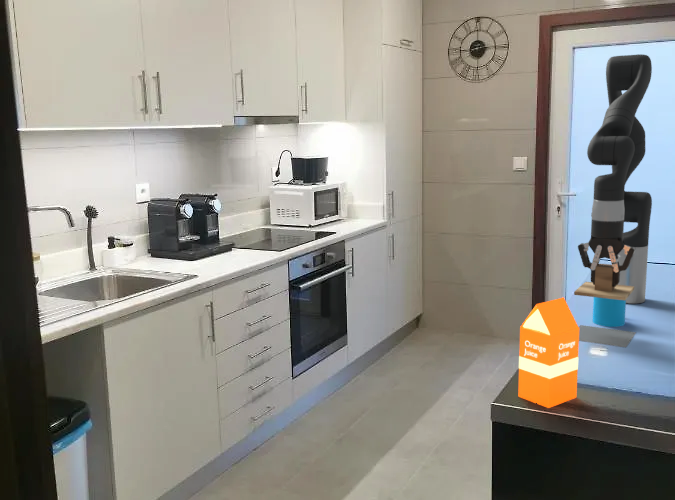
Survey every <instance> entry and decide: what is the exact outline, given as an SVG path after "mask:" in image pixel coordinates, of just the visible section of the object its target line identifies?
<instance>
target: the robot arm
mask: <svg viewBox="0 0 675 500" xmlns="http://www.w3.org/2000/svg"><path fill="white" fill-rule="evenodd" d="M651 60H652V59H651V57H650V56H649V55H647V54H628V55H615V56H614V55H613V56H610V57H609V58H608V59H607V63H606V65H605V66H606V68H605V80H606V82H605V83H606V90H607V99H608V108H607V109H606V111H605V114H604V117H603V121H602V125H601V126H600V128H599V129H598V130H597V131H596V133H595V134H594V135H593V137H592V138H591V139H590V141H589V144H588V146H587V149H586V150H587V152H586V154H587V155H586V156H587V158H588V161H589V162H590V163H591V164H592V165H596V166H611V171H612V172H611V173H608V174H603V175H598V176H596V177H595V178H594V181H593V182H594V183H593V200H592V207H591V222H590V223H591V224H590V226H591V227H590V239H589V241H588V242H581V243H579V244H578V246H577V249H578V252H579V256H580V259H581V262H582V265H583V267H584V268H588V269H589V270H590V282H593V285H595V268H596V266H597V265H598V264H600V261H601V259H608V260H610V263H611V265H612V266H613V270H614V272H613V282H612V287H616V285H625V286H634V290H633V291H632V293H631V294H630V295H629V296H628V298H627V299H626V304H642V303H644V302H646V291H647V289H646V288H647V286H646V285H647V275H648V274H647V271H648V255H649V238H650V223H651V214H652V209H653V208H652V206H653V201H652V200H653V199H652V195H651V194H650V193H649V191H648V192H647V191H626V190H625V187H626V184H627V181H628V180H629V178H630V177H631V175H632V174H633V173H634V171H635V170H636V169H637V168H638V166H639V165H640V164H641V162H642V161H643V159H644V157H645V155H646V131H645V128H644V127H643V124H641V122H640V121H639V119H638V118H637V117H636V113H637V111H638V109H639V106H640V105H641V102H642V101H643V99H644V97H645V94H646V93H647V91H648V89H649V85H650V83H651V79H652V73H653V71H652V69H653V67H652V61H651ZM622 91H625V92H624V93H623V92H622ZM625 223H635V224H636V223H637V226H636V227H634V228H633V229H631V230H629V231H625V232H624V230H625V229H624V227H625ZM589 248H590V249H591V250H592V252H593V253H594V255H593V258H592V262H591V261H590V257H589V255H588V254H589V253H588V251H589Z"/></svg>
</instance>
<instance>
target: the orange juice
mask: <svg viewBox="0 0 675 500" xmlns="http://www.w3.org/2000/svg"><path fill="white" fill-rule="evenodd" d="M579 344H580V341H579V325H578V323H577V321H576V319H575V317H574V315H573V314H572V311H571V309H570V307H569V305H568V303H567V301H566V299H565V297H563V296H562V297H560V298H557V299H551V300H549V301H544V302H543V301H542V302H539V303H536V304H535V306H534V307H533V309H532V310H531V311H530V313H529V314H528V316H527V317H526V318H525V320H524V321H523V322H522V324H521V325H520V327H519V352H518V353H519V355H518V391H517V392H518V395H517V396H518V397H519V398H521V399H524V400H527V401H528V402H531V403H534V404H536V403H537V404H536V405H539V406H542V407H545V408H547V409H550V408H553V407H555V406H558V405H560V404H563V403H565V402H568V401H571V400H574V399H576V398H577V393H578V392H577V391H578V370H579V347H580V345H579Z"/></svg>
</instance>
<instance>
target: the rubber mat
mask: <svg viewBox="0 0 675 500" xmlns="http://www.w3.org/2000/svg"><path fill="white" fill-rule="evenodd" d="M578 327H579V342H585V343H592V344H599V345H606V346H612V347H620V348H627V347H628V345H629V344H630V342H631V341H632V340H633V338H634V337H635V335H636V334H637V332H635V331H629V330H621V329H614V328H613V329H612V328H606V327H597V326H591V325H584V324H583V325H582V324H580V325H578Z"/></svg>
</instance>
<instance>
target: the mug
mask: <svg viewBox="0 0 675 500" xmlns="http://www.w3.org/2000/svg"><path fill="white" fill-rule="evenodd" d="M592 304H593V306H592V324H594V325H598V326H601V327H610V328H616V327H623V326H625V324H626V322H625V321H626V304H627V303H626V300H617V299H608V298H598V297H593V303H592Z"/></svg>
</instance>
